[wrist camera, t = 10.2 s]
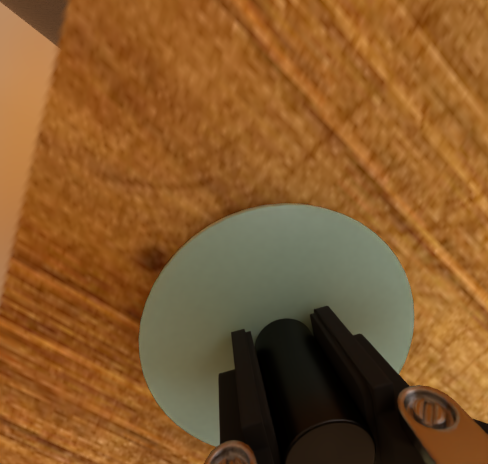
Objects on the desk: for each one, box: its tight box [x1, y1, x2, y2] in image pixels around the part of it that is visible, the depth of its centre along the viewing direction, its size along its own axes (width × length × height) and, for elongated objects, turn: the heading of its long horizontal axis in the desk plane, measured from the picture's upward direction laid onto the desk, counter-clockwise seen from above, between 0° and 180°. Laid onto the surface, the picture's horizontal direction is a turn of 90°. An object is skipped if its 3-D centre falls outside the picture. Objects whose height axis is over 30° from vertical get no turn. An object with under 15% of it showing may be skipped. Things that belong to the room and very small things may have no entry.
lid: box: [139, 203, 414, 464], centre depth 9 cm, size 11×11×6 cm
